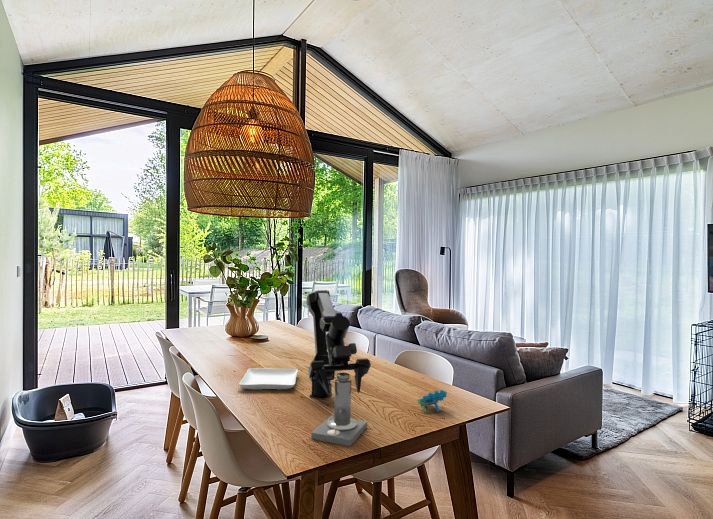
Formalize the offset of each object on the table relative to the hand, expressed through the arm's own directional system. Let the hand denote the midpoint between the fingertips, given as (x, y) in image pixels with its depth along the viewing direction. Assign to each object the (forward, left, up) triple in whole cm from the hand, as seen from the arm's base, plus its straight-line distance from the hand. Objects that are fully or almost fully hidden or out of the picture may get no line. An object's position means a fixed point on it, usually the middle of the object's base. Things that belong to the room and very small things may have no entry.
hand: (344, 393), depth 129 cm
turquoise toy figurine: (+21, +30, -12) cm, 39 cm away
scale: (-1, 0, -12) cm, 12 cm away
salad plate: (-45, +31, -12) cm, 56 cm away
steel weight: (-1, +1, -9) cm, 9 cm away
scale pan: (-1, +1, -10) cm, 10 cm away
